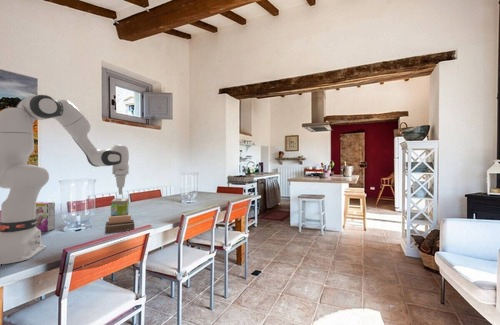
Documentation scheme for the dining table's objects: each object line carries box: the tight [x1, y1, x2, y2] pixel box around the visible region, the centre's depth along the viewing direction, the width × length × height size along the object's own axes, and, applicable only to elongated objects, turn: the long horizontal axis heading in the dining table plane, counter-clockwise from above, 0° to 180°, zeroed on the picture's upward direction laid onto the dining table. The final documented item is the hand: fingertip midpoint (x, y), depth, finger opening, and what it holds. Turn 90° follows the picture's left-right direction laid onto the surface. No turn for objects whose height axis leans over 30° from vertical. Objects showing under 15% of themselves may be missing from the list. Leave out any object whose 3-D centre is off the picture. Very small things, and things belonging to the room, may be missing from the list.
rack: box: [104, 218, 135, 234], centre depth 145 cm, size 12×15×4 cm
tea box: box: [110, 197, 130, 217], centre depth 165 cm, size 15×10×15 cm, turn 24°
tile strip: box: [108, 214, 132, 224], centre depth 147 cm, size 2×12×6 cm, turn 119°
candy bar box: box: [35, 201, 56, 232], centre depth 140 cm, size 11×5×16 cm, turn 84°
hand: (120, 193), depth 147 cm, fingers open, 8 cm apart
